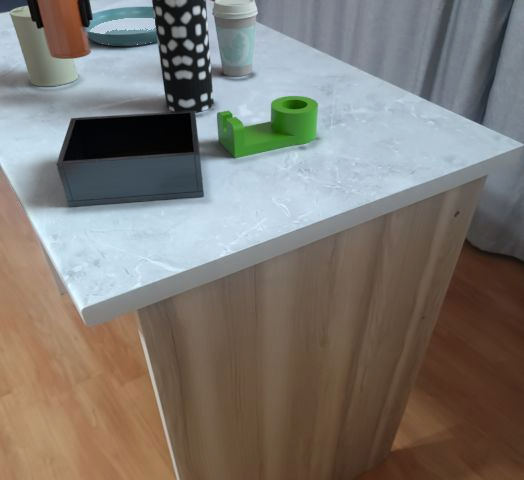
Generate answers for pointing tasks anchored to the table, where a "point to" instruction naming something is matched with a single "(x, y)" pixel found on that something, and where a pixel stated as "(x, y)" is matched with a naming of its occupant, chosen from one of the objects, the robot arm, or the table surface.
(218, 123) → the tape dispenser
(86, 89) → the table surface
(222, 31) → the coffee cup
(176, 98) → the white-spotted black cylinder
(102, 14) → the teal plate
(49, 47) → the cup
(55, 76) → the can
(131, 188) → the dark grey storage bin
